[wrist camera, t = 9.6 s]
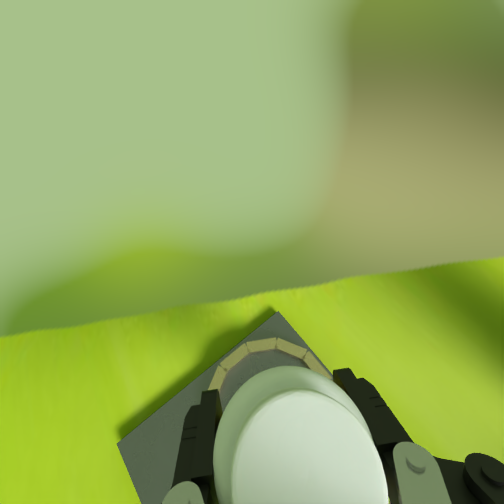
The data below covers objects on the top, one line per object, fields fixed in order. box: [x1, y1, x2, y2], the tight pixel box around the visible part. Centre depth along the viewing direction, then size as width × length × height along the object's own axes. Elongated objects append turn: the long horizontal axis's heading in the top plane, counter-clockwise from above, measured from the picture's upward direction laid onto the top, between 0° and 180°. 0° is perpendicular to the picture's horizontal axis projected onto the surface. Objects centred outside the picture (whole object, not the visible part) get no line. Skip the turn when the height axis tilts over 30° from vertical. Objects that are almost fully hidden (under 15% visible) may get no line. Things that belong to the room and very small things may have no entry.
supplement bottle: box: [213, 366, 388, 504], centre depth 11 cm, size 6×6×10 cm
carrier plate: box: [117, 311, 333, 504], centre depth 21 cm, size 19×16×2 cm
